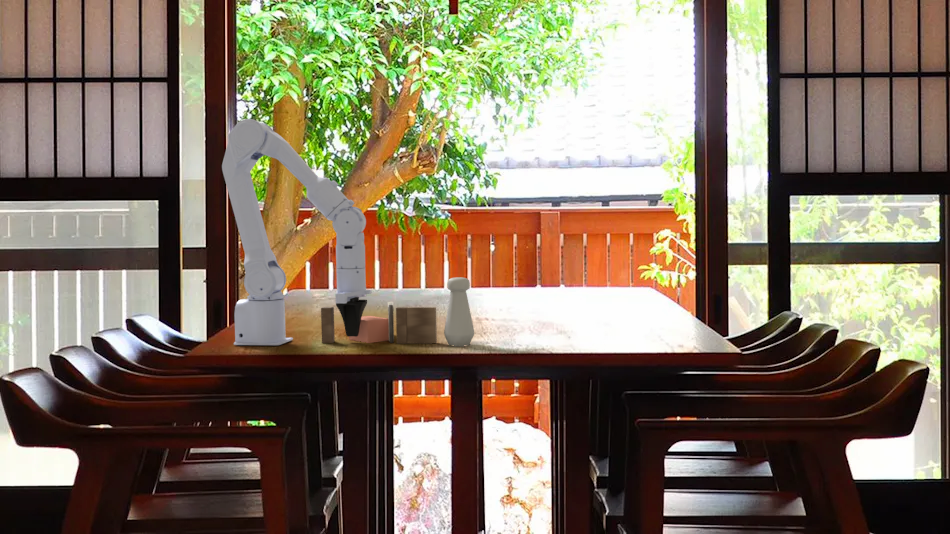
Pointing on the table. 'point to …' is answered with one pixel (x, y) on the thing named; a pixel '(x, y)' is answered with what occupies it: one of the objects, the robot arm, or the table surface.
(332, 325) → the frame
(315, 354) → the table surface
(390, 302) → the door
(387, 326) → the block
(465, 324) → the salt shaker
